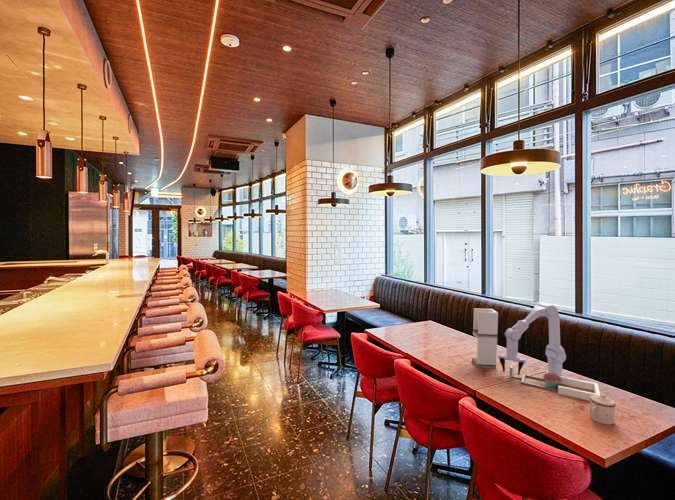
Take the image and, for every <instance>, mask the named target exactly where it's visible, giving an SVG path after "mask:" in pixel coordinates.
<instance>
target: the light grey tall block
mask: <svg viewBox="0 0 675 500" xmlns="http://www.w3.org/2000/svg"><path fill="white" fill-rule="evenodd" d="M472 325H473V327H472V335H473V336H474V337H475V338H476V339H477V342H476V343H477V345H476V348H477V349H476V357H472V358H471V361H472V363H473V364H474V366H475V367H476V368H480V367H482V369H483V368H484V369H485V368H486V369H497V358H498V353H497V352H498V351H497V350H498V331H499V330H498V329H499V328H498V327H499V326H498V325H499V312H498V311H496V310H494V309H493V308H481V307H480V308H479V307H478V308H477V307H475V308H473V323H472Z"/></svg>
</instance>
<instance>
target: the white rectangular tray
mask: <svg viewBox="0 0 675 500" xmlns="http://www.w3.org/2000/svg"><path fill="white" fill-rule="evenodd" d="M559 377H561V380H562V382H561V386H558V387H557V389H558V392H557V394H559V395H563V396H566V397H570V398H575V399H580V400H585V401H589V402H591V400H590V398H591V396H594V395H597V396H598V395H600V394H601V392H600V388H599V384H598V383H597V382H591V381H586V380H581V379H577V378H571V377H567V376H564V375H563V376H559ZM562 385H565V386H562ZM567 386H571V387H573V388H571V387H567ZM574 387H575V388H574ZM576 388H579V389H576ZM581 389H583V390H581ZM585 390H589V391H585ZM590 391H593V392H590Z"/></svg>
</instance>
